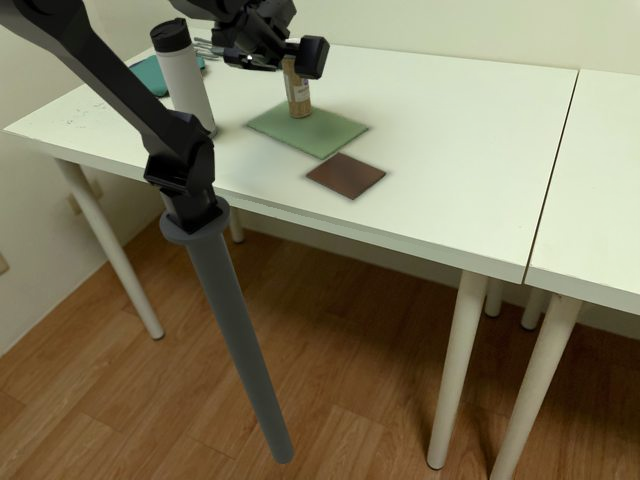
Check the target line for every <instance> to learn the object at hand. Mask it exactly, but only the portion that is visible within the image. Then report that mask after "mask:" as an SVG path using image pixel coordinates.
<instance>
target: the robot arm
mask: <svg viewBox="0 0 640 480" xmlns="http://www.w3.org/2000/svg"><path fill="white" fill-rule="evenodd" d="M167 1H168V2H169V3H170V5H171V6H172V8H173V9H175V10H176V11H178V12H180V13H181V14H183V15H184V16H185V17H187V18H188V19H191V20H199V21H207V22H208V21H209V22H213V27H212V28H211V29H210V33H211V38H210V41H211V42H212V44H211V46H212V47H220V48H224V50H223V53H222V54H221V56H222V59H223V63H224V64H226V66H228V67H230V68H234V69H239V70H246V71H252V72H268V73H276V72H277V70H278V69H277V68H278V67H279V63H280V61H282V59H283V58H289V59H295V62H294V72H295V74H296V75H298V76H300V78H304V79H308V80H311V81H318V80H320V79H321V78H322V77H323V74H324V69H325V66H326V64H327V59H328V55H329V52H330V49H331V44H330V43H329V41H328V40H327V39H326V38H325V36H321V35H310V34H304V35H303V36H301V37H300V39H301V40H300V44H299V43H290V42H285V41H286V39H290V36H291V31H290V30H289V28H288V27H289V26H290V24H291V22H292V20H293V18H294V17H295V16H296V15H297V13H298V11H297V7H296V6H295V3H294V0H167ZM0 26H1V27H3V28H4V29H7V30H8V31H10V32H11V33H13V34H14V35H16V36H18V37H20V38H22V39H24V40H26V41H28V42H29V43H32V44H33V45H35V46H37V47H38V48H41V49H43V50H45V51H46V52H49V53H51V55H53V56H54V57H56V58H57V59H58V60H59V61H60V62H61V63H63V64H64V65H65V66H66V67H67V68H68V69H69V70H70V71H71V72H72V73H74V75H76V76H77V77H78V78H79V79H80V80H81V81H82V82H83V83H84V84H86V85H87V86H88V87H89V88H90V89H91V90H92V91H93V92H95V94H96V95H98V96H99V97H100V98H101V99H102V100H103V101H104V102H105V103H107V104H108V105H109V106H110V108H112V109H113V110H114V111H115V112H117V113H118V114H119V116H121V118H123V119H124V120H125V121H126V122H127V123H129V125H130V126H132V127H133V128H134V129H135V130H136V131H137V132H138V133H139V134H140V136H141V141H142V142H141V143H142V146H143V148H144V149H145V151H146V152H147V153H148V156H147V157H148V158H147V160H146V164H145V168H144V171H143V175H142V178H143V180H145V181H146V182H147V183H148V184H149V186H152V187H158V188H159V189H158V192H159V194H160V196H161V198H162V201H163V204H164V206H165V208H166V209H167V210H168V214H167V215H166V218H167V220H169V221H170V222H171V223H173V224H174V225H176V226H177V227H178V228H180V229H181V230H182V231H184V232H185V233H186V234H188V235H191V234H193V233H194V232H196V231H197V230H199V229H200V228H202V227H204V226H205V225H207V224H208V223H210V222H211V221H213V220H214V219H216V218H217V217H219V216H220V215H222V214H223V210H222V209H221V208H220V207H218V206H216V205H217V204H218V201H217V198H216V195H217V194H216V191H215V188H214V186H213V183H214V182H215V181H216V156H215V155H216V154H215V153H216V152H215V143H214V141H213V139H212V138H210V137H209V136H208V135H210V134H211V131H209V130H207V129H205V128H204V127H203V125H202V124H201V122H200V120H199V119H198V118H197V117H196V116H195V115H194V114H189V113H185V112H180V111H175V109H170V108H168V107H166V105H165V104H163V102H162V101H161V100H160V99H159V98H158V96H157V95H155V94H153V93H152V92H151V91H150V90H149V89H148V88H147V87H146V86H145V85H144V84H143V82H142V81H141V80H140V79H139V78H138V77H137V76H136V75H135V74H134V73H133V72H132V71H131V70H130V69H129V68H128V67H129V66H128V65H127V64H126V63H125V62H124V61H123V60H122V59H121V57H120V56H118V55H117V54H116V52H115V51H114V50H113V49H112V48H111V47H110V46H109V45H108V44H107V43H106V42H105V40H103V38H101V36H99V34H97V32H96V31H95V30H94V28H93V27H92V24H91V22H90V18H89V15H88V11H87V7H86V4H85V2H84V0H0ZM297 49H298V50H297Z"/></svg>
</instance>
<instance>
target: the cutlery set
mask: <svg viewBox="0 0 640 480" xmlns="http://www.w3.org/2000/svg"><path fill="white" fill-rule="evenodd" d="M193 41H194V42H192V43H193V46H194V48H200V49H204V50H208V51H209V52H210V53H212V54H210V53H205V52H200V51H198V49H196V50H195V53H196V57H197V60H198V64H199V67H200V71H201V72H202V70H205V69H206V64H205V63H206V61H205V59H204V58H203V57H205V58H210V59H219V58H220V55H222V54H223V50H224V48H220V47H213V46H212V47H207V46H204V45H201V44H198V43H195V42H199V43H203V44H207V45H212V42H211V40H208V39H205V38H202V37H198V36H195V37H193ZM201 56H202V57H201ZM128 68H129V69H130V70H131V71H132V72H133V73H134V74H135V75H136V76H137V77H138V78H139V79H140V80H141V81H142V82H143V84H144V85H145V86H146V87H147V88H148V89H149V90H150V91H151V92H152V93H153V94H154V95H155V96H156V97H163V96H164V95H165V94H166V93H167V92H168V88H167V85H166V82H165V79H164V76H163V73H162V70H161V68H160V65H159V62H158V59H157V56H156V54H152V55H150V56H148V57H146V58H145V59H144V58H143V59H142V60H139V61H137V62H135V63H132V64H131V65H129V66H128Z"/></svg>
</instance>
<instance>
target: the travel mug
mask: <svg viewBox="0 0 640 480" xmlns="http://www.w3.org/2000/svg"><path fill="white" fill-rule="evenodd" d="M149 37H150V40H151V43H152V45H153V49H154V52H155V55H156V56H157V59H158V62H159V65H160V68H161V70H162V73H163V76H164V79H165V82H166V85H167V88H168V90H167V92H168V94H169V96H170V97H169V98H170V100H171V102H172V105H173V108H174V109H173V110H175V111H180V112H185V113H189V114H194V115H195V116H196V117H197V118H198V119H199V120H200V122H201V124H202V125H203V127H204V128H205V129H207V130H209V131H211V134H210V135H208V136H209V137H210V138H211V139H212V138H214V137H215V136H216V134H217V133H218V128H217V124H216V120H215V117H214V113H213V111H212V107H211V103H210V99H209V96H208V93H207V89H206V86H205V81H204V78H203V75H202V70H201V71H200V67H199V64H198V60H197V57H196V56H197V55H196V53H195V51H196V50H195V47H194V46H193V43H194V42H193V41H192V38H191V34H190V30H189V27H188V22H187V19H186V18H185V17H179V16H176V17H175V18H173V19H169V20H166V21H163V22H160V23H158V24H157V25H155V26H154V27H153V28H152V29H151V30H150V32H149Z"/></svg>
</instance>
